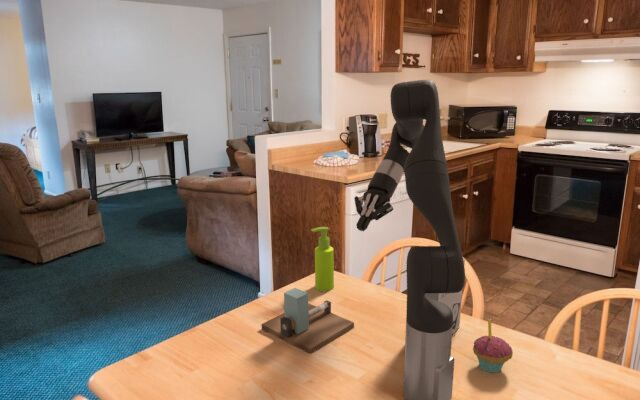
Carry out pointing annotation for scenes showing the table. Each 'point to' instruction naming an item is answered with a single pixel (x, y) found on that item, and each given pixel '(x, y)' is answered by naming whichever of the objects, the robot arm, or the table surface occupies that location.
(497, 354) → the cupcake
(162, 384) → the table surface
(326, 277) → the soap dispenser
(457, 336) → the table surface
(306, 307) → the tall pale blue block
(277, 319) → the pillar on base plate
